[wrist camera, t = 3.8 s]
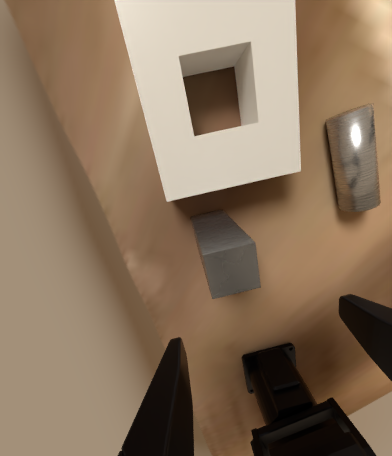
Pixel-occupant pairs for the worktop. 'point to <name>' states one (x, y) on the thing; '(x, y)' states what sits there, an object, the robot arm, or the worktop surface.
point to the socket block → (210, 61)
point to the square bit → (225, 254)
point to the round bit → (355, 158)
